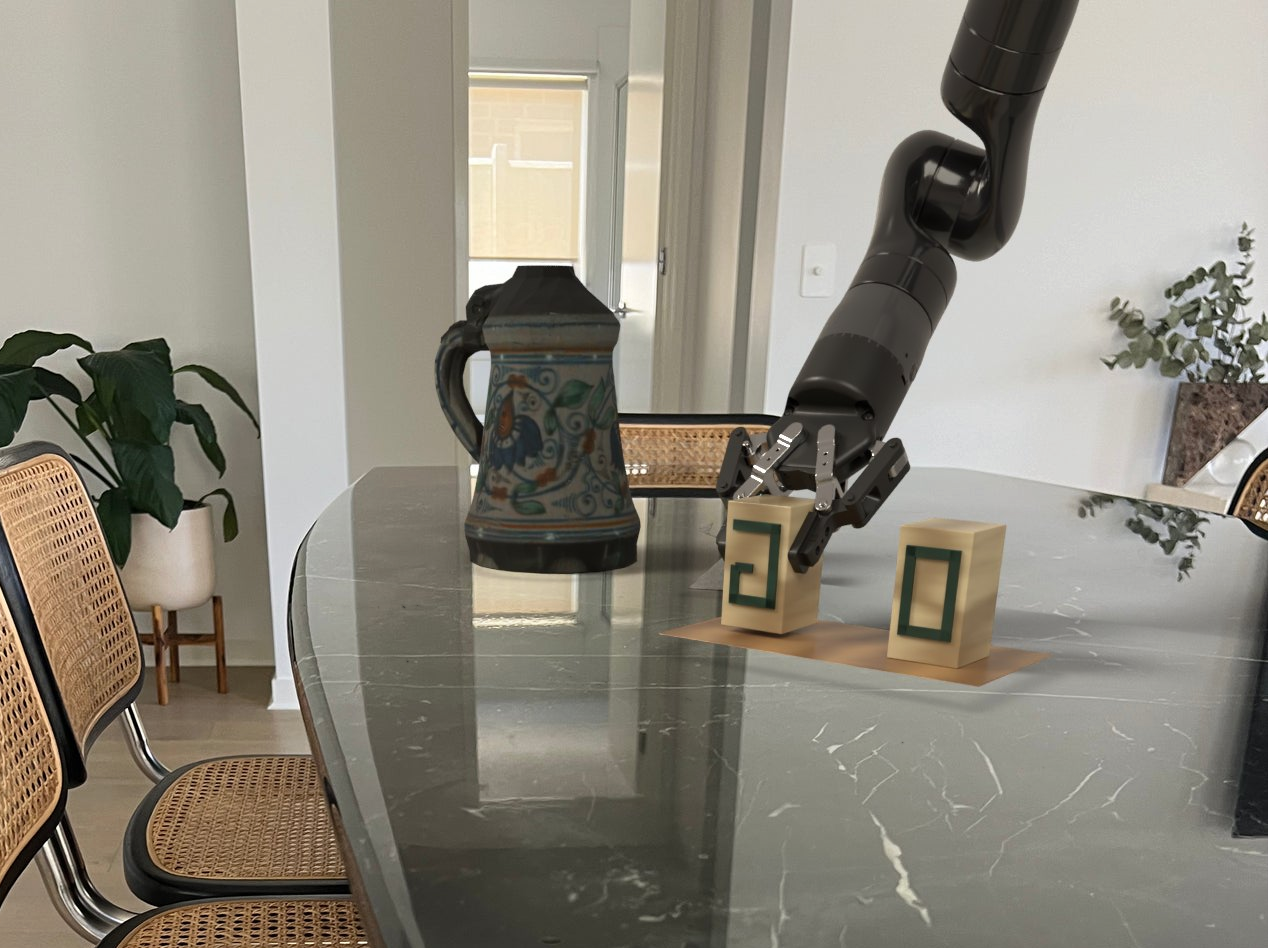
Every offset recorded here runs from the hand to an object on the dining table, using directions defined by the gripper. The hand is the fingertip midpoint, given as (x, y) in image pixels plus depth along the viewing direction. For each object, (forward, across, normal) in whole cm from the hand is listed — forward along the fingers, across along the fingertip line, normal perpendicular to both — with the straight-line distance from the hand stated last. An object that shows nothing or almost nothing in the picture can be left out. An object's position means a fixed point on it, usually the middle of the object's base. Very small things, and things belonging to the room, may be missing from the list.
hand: (760, 560), depth 101 cm
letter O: (+2, +13, +5) cm, 14 cm away
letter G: (+2, 0, +5) cm, 5 cm away
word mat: (+3, +6, +5) cm, 9 cm away
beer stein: (-9, -36, +18) cm, 41 cm away
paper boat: (-11, -14, +20) cm, 27 cm away
